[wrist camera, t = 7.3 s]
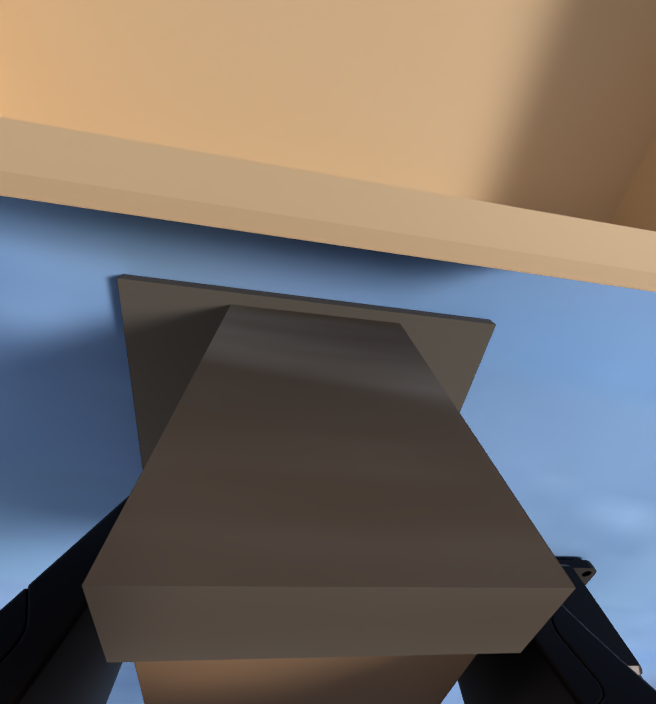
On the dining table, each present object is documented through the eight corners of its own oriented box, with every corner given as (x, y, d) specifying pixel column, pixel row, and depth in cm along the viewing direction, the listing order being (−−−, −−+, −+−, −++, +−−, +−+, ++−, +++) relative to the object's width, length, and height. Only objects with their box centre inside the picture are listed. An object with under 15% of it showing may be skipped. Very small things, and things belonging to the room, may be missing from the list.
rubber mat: (416, 501, 15) (419, 509, 14) (150, 489, 13) (146, 498, 13) (489, 319, 11) (495, 324, 10) (123, 274, 9) (117, 278, 9)
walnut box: (352, 501, 14) (399, 795, 7) (227, 497, 13) (156, 813, 7) (399, 322, 10) (576, 587, 4) (231, 304, 10) (82, 585, 3)
